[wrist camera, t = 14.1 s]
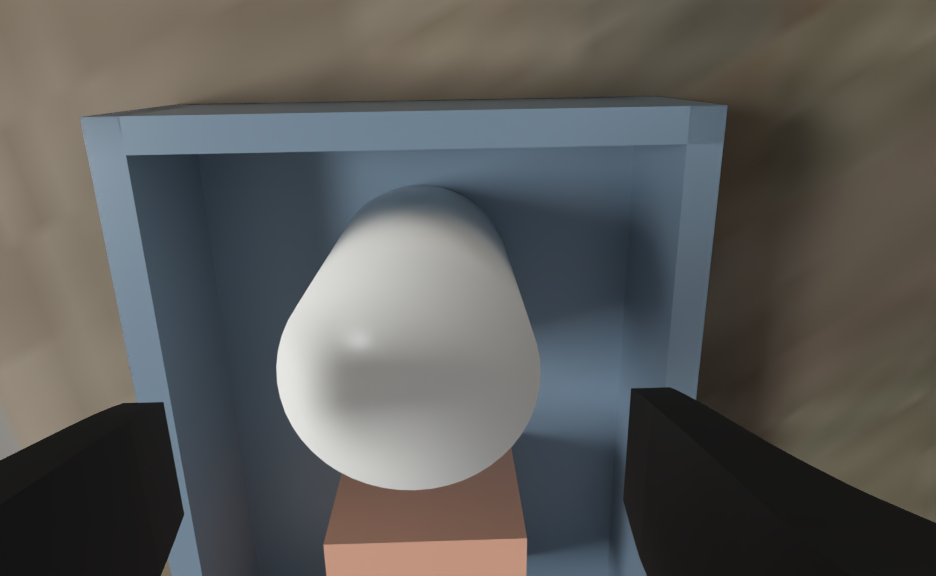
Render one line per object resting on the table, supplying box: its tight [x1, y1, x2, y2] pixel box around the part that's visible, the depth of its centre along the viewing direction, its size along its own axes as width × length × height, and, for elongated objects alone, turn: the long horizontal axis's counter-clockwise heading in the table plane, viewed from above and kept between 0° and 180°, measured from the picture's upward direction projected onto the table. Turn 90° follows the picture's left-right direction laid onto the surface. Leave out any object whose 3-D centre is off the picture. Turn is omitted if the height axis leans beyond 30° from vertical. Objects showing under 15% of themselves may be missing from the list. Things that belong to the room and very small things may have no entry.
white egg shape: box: [276, 185, 541, 490], centre depth 16 cm, size 5×5×7 cm
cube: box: [323, 448, 527, 576], centre depth 19 cm, size 5×5×5 cm
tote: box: [80, 96, 728, 576], centre depth 19 cm, size 18×14×5 cm
